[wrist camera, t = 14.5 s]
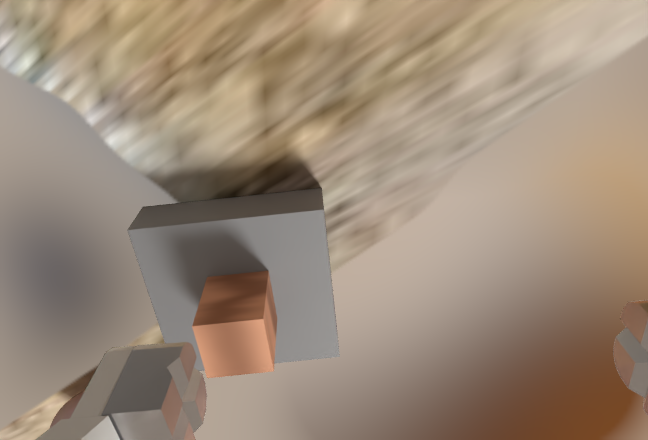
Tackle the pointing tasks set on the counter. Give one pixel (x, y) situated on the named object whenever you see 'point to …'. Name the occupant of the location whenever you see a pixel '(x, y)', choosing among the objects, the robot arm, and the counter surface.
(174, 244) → the base slab
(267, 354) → the terracotta block
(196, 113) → the counter surface
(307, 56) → the counter surface
